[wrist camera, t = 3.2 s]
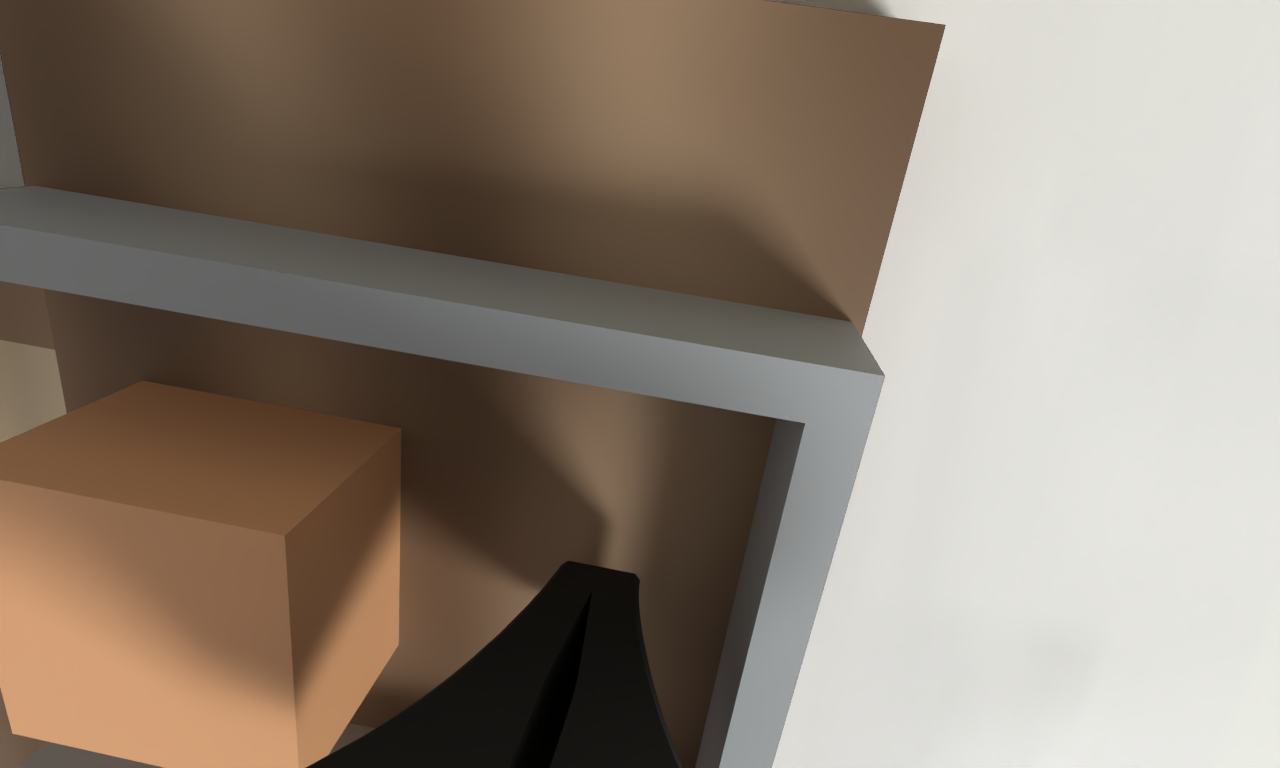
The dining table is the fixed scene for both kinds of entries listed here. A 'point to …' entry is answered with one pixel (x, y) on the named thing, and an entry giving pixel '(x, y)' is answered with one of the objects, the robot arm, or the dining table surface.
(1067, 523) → the dining table surface
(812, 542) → the gray rectangular frame
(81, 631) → the block
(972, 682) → the dining table surface
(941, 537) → the dining table surface
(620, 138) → the board
